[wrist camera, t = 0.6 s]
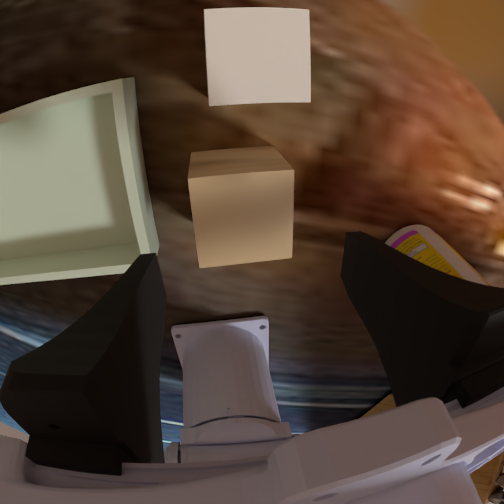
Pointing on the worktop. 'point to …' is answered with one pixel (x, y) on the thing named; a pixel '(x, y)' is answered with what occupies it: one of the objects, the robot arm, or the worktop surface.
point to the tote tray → (74, 186)
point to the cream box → (257, 55)
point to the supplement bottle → (433, 252)
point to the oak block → (241, 205)
